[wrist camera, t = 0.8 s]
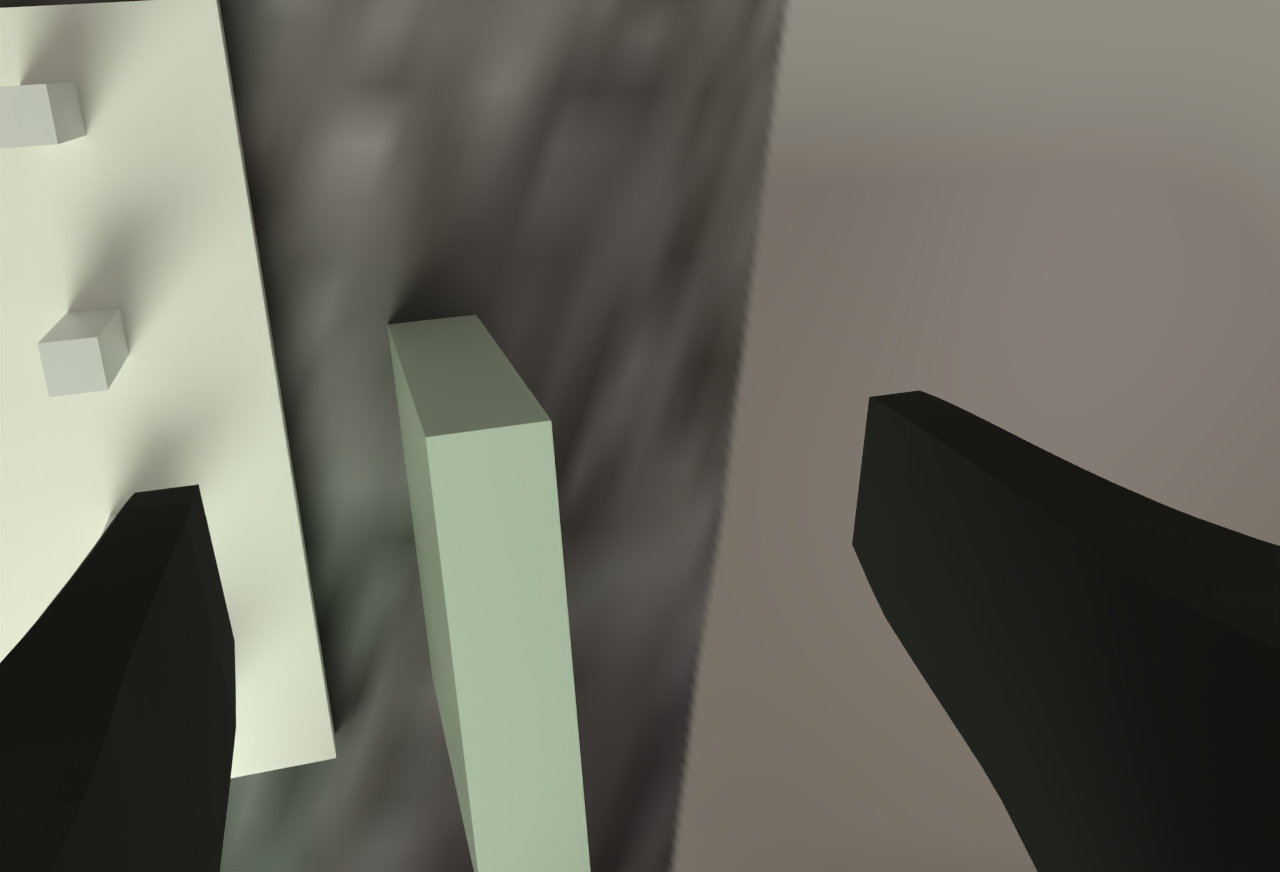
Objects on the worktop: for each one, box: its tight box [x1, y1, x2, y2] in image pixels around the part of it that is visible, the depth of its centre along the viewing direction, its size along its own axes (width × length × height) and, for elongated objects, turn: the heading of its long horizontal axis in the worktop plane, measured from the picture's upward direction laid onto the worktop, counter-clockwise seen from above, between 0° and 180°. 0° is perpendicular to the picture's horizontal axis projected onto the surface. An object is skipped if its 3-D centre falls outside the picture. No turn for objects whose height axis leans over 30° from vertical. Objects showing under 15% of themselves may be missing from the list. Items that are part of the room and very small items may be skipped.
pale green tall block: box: [388, 315, 591, 872], centre depth 25 cm, size 2×9×9 cm, turn 3°
